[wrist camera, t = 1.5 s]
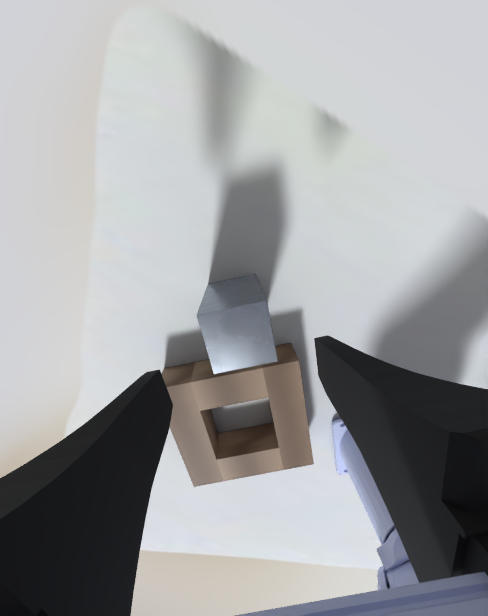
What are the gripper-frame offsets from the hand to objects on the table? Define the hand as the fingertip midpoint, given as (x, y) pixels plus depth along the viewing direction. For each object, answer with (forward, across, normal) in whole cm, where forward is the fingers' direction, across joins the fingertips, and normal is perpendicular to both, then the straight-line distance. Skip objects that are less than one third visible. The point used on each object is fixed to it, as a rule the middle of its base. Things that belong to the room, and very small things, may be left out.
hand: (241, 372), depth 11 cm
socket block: (+10, +2, +11) cm, 15 cm away
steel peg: (+10, 0, 0) cm, 10 cm away
